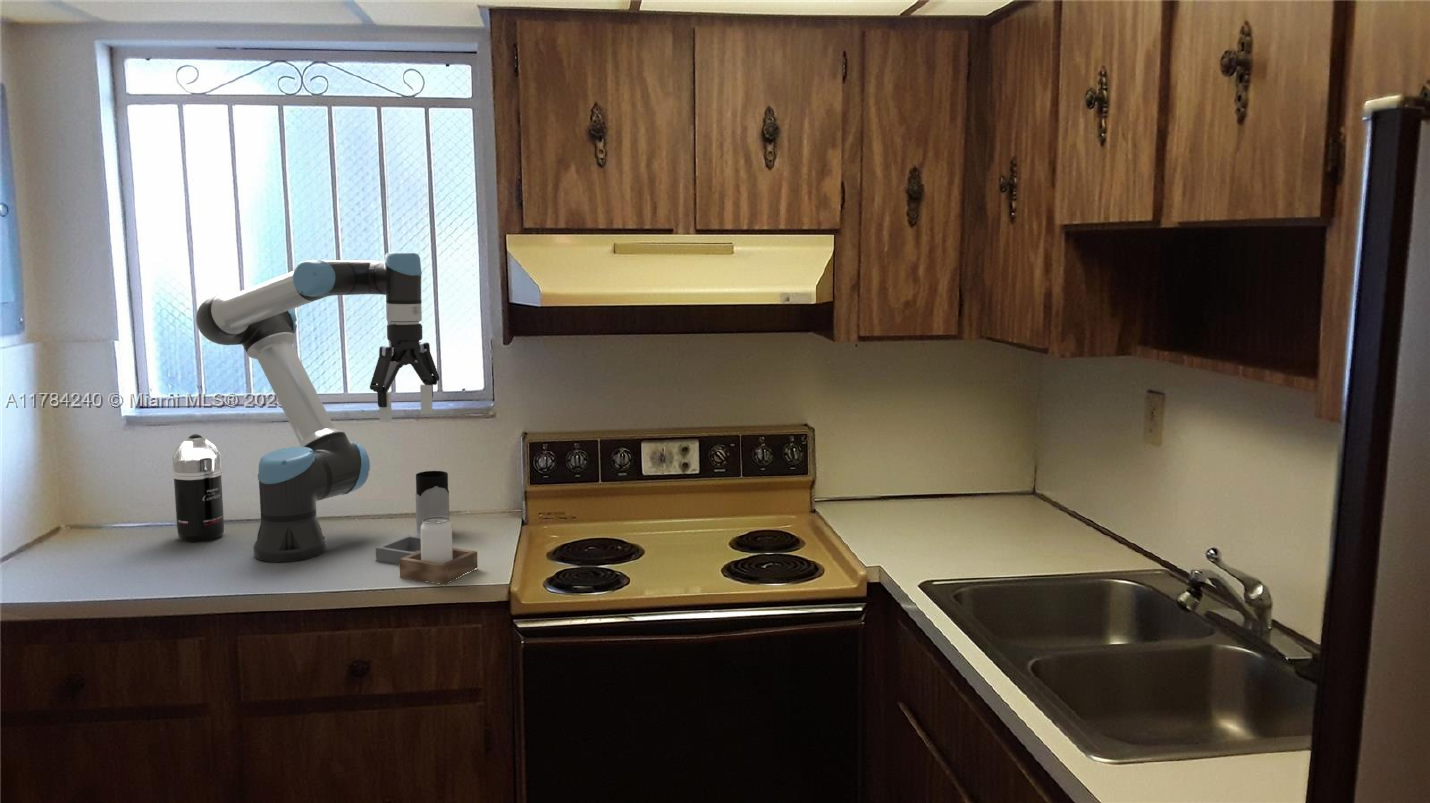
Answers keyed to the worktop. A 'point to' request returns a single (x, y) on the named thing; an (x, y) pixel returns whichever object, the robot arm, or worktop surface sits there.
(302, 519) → the robot arm
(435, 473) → the glass holder
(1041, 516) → the worktop surface
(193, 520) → the spray bottle
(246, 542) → the worktop surface
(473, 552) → the brown open square box
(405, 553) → the grey square tray
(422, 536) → the can
